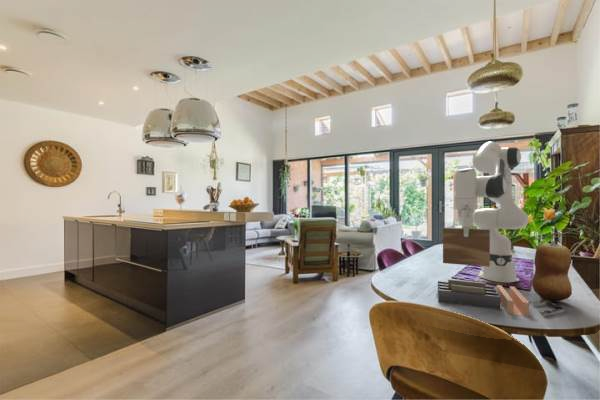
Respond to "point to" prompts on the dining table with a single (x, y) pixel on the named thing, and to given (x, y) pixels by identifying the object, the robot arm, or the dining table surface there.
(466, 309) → the dining table surface
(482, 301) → the rack
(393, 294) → the dining table surface
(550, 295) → the butternut squash
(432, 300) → the dining table surface
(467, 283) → the offcut
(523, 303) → the holder
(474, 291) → the offcut
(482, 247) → the tall sheet
